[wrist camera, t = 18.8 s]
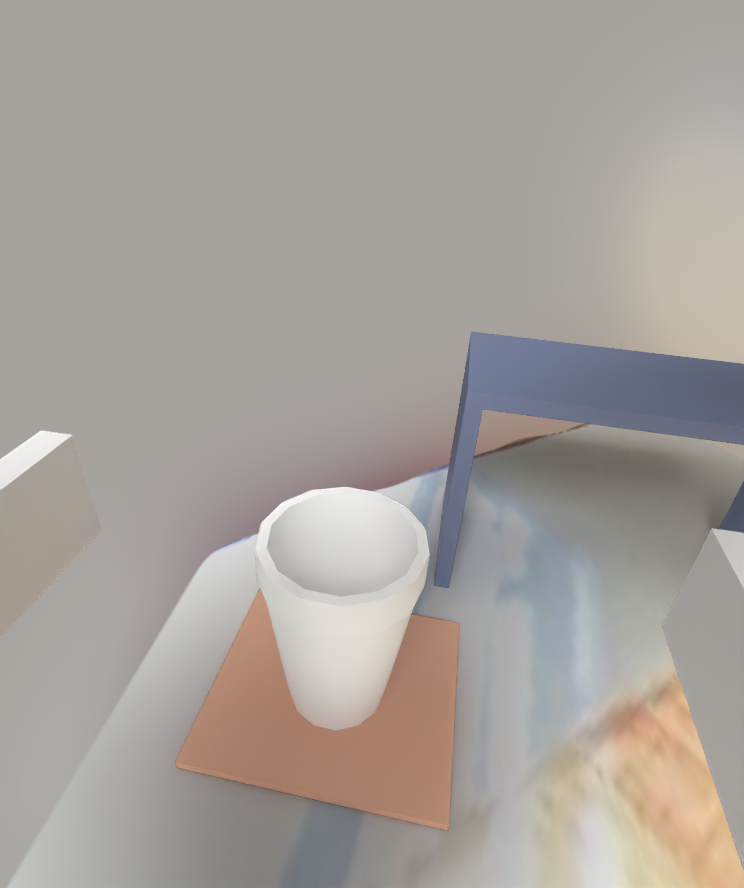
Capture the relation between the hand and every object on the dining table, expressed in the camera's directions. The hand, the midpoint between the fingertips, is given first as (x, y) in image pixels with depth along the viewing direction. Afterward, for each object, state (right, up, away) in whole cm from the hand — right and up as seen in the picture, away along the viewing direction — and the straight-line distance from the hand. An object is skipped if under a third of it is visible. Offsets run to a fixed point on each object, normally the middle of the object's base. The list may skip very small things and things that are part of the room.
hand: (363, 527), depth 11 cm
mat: (-2, -15, +25) cm, 29 cm away
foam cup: (-2, -15, +25) cm, 29 cm away
